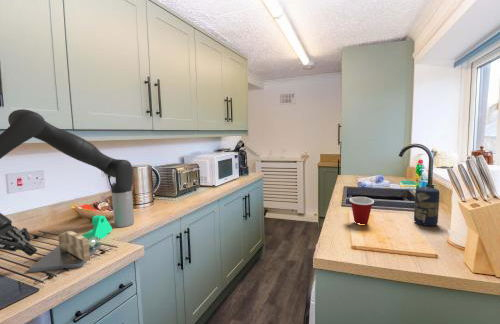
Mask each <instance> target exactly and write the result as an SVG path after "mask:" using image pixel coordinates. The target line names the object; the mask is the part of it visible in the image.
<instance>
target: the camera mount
mask: <svg viewBox="0 0 500 324" xmlns="http://www.w3.org/2000/svg"><path fill="white" fill-rule="evenodd" d="M91 224H92V226H93V229H90V230H89V231H87V232H86V233H85V232H84V234H80V235H81V236H83V237H85V238H87V239H88V240H89V239H90V238H92V237H93V236H97V237H98V238H99V241H101V240H102V238H103V239H104V238H106V237H107V236H108V234H109V233H111V232H112V231H113V227H112V226H111V223H109V221H108V220H107V218H106V216H105V215H97V214H96V215H94V216H93V217H92V219H91ZM105 236H106V237H105ZM100 239H101V240H100Z"/></svg>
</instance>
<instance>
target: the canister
mask: <svg viewBox="0 0 500 324" xmlns="http://www.w3.org/2000/svg"><path fill="white" fill-rule="evenodd" d="M439 206H440V190H439V189H438V188H434V187H430V186H427V187H426V186H425V187H424V186H422V187H421V186H420V187H417V188H416V189H415V193H414V206H413V207H414V208H413V209H414V211H413V212H414V213H413V221H414V222H415V223H417V224H419V225H423V226H429V227H432V226H436V225H438V223H439V211H440V210H439Z"/></svg>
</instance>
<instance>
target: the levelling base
mask: <svg viewBox="0 0 500 324" xmlns="http://www.w3.org/2000/svg"><path fill="white" fill-rule="evenodd" d="M99 241H100V240H99V238H98V237H97V236H93V237H92V238H90V239H89V240H88V242H89V252H90V258H91V257H92V256H93V255H94V254H95V253H96V252H97V251H98V250H99V249H100V248H101V246H102V245H101V244H102V243H101V242H99ZM97 249H98V250H97ZM96 250H97V251H96ZM88 261H89V260H87V261H83V260H82V259H80V258H78V257H77V256H75V255H73V254H72V253H70V252H68V251H65V252H61V251H60V247H59V245H57V246H56V247H55V248H54V249H52V250H50V251H49V252H48V253H47V254H45V255H44V256H43V257H41V258H40V259H39V260H38V261H37V262H36V263H34V264H33V265H31V266H30V267H29V268H28V271H29V273H38V272H49V271H58V270H57V269H61V270H64V269H63V268H69V269H70V270H71V269H79V268H82V267H83V266H84V265H85V264H86V263H87V262H88ZM69 269H68V270H69Z"/></svg>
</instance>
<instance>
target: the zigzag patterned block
mask: <svg viewBox="0 0 500 324" xmlns="http://www.w3.org/2000/svg"><path fill="white" fill-rule="evenodd" d="M81 235H82V234H79V233H76V232H75V231H72V230H67V231H65V232H62V233H59V234H58V235H57V237H58V246H59V247H60V251H61V252H65V251H68V252H70V253H72V254H73V255H75V256H77V257H78V258H80V259H82V260H83V261H87V260H88V261H90V260H91V257H90V252H89V242H88V239H87V238H85V237H83V236H81ZM88 261H87V262H88Z"/></svg>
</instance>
